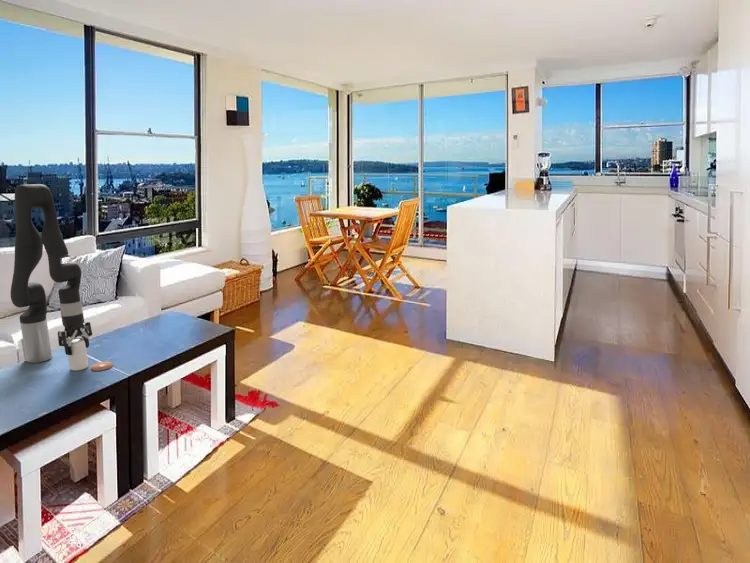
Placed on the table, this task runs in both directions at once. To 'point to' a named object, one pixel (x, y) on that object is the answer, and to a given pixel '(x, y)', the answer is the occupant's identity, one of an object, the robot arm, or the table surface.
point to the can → (78, 355)
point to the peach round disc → (101, 366)
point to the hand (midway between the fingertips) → (78, 351)
